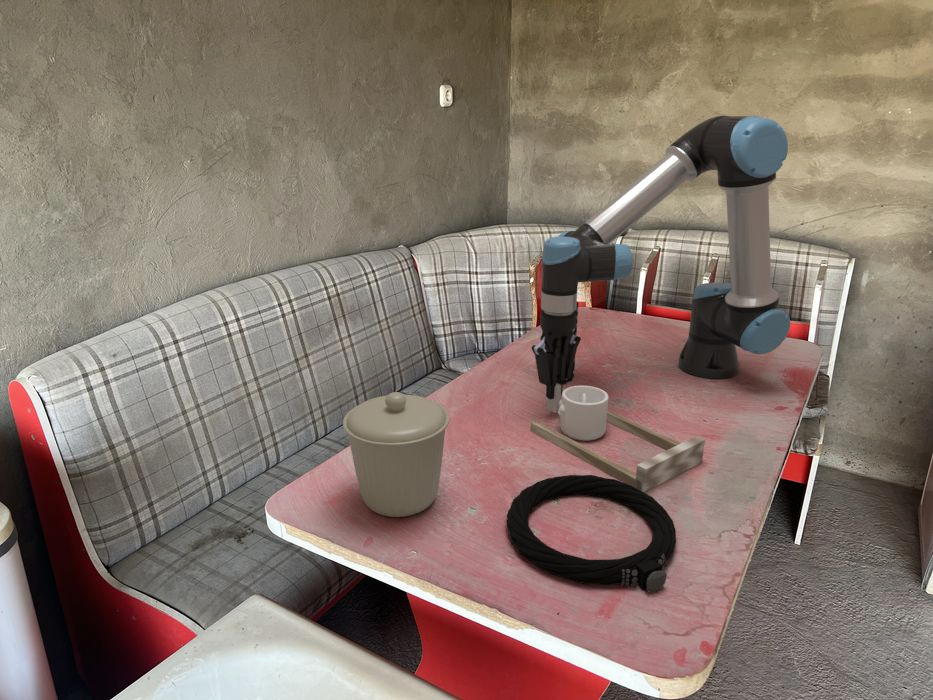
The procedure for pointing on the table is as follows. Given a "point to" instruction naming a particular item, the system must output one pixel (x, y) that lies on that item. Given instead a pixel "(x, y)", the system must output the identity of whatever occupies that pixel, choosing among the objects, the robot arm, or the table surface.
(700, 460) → the guide channel
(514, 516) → the cable lock
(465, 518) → the table surface
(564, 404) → the mug
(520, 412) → the table surface
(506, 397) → the table surface
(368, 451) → the canister
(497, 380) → the table surface
